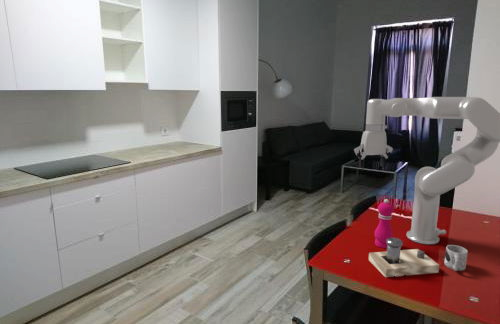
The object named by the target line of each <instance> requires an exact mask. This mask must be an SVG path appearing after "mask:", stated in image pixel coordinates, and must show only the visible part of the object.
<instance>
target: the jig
mask: <svg viewBox="0 0 500 324" xmlns="http://www.w3.org/2000/svg"><path fill="white" fill-rule="evenodd" d="M386 256H387V250H386V251H377V252H376V251H374V252H369V253H368V261H369V262H370V263H371V264H372V265H373V266H374V267H375V268H376V269H377V270H378V272H380V273H381V274H382V276H383V277H385V278H394V276H395V277H403V276H404V275H406V276H415V275H427V274H437V273H440V272H439V271H440V264H439V263H438V262H436V261H435V260H434V259H432V258H431V257H429V256H428V255H427V254H426V253H425V251H423V250H420V249H419V248H414V249H413V248H412V249H402V250H400V261H399V264H389V263H388V262H386ZM404 277H405V276H404Z"/></svg>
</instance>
